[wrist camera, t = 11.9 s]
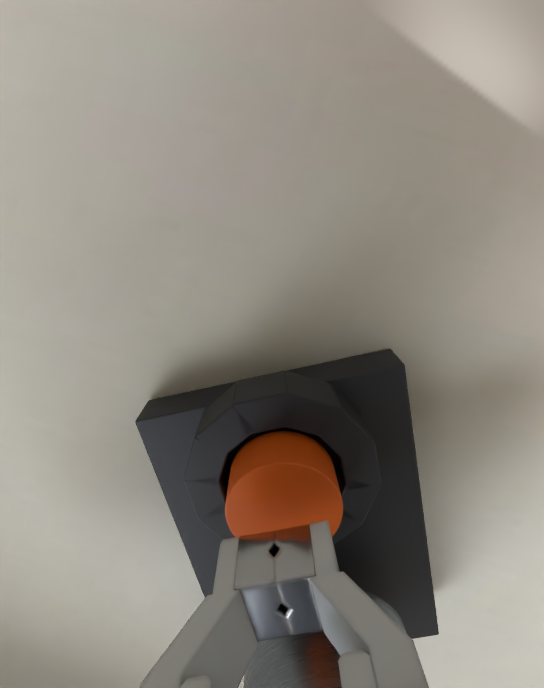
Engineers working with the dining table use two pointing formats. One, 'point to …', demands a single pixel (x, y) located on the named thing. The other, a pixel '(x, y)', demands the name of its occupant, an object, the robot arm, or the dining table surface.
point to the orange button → (282, 485)
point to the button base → (341, 444)
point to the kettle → (301, 659)
